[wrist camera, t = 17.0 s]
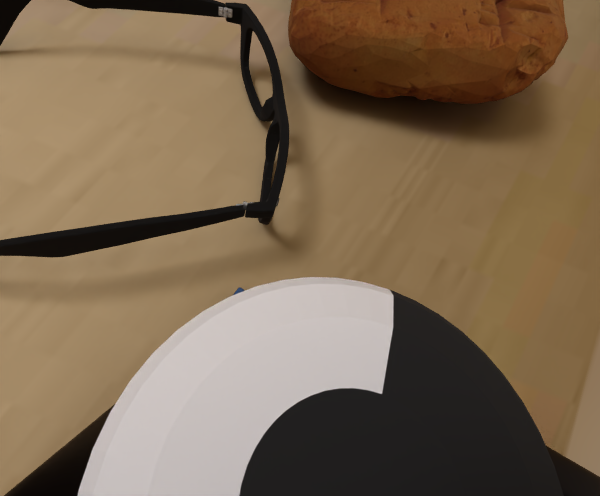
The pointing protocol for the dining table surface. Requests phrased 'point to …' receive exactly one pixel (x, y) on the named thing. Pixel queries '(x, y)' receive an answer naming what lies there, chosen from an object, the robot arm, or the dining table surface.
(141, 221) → the glasses
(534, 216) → the dining table surface
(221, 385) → the medicine bottle
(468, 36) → the clay tablet
